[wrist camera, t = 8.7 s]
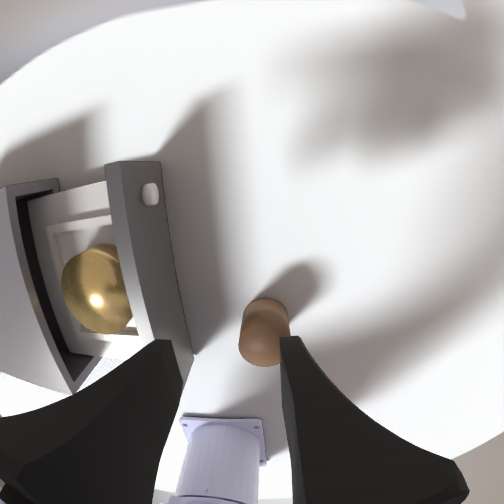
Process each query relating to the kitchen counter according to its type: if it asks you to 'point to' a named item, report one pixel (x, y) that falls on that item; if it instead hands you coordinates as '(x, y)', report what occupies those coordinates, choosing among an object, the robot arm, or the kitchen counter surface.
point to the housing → (31, 302)
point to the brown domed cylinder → (263, 332)
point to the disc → (97, 290)
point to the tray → (129, 252)
